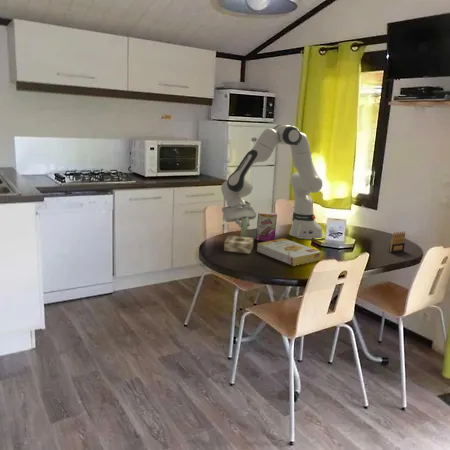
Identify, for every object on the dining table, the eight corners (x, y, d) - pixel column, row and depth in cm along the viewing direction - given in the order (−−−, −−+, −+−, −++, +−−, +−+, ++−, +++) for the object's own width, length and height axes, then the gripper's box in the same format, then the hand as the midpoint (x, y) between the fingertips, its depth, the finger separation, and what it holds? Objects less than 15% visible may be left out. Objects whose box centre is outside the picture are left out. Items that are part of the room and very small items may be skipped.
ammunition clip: (391, 253, 252) (394, 232, 250) (388, 252, 254) (391, 231, 251) (403, 251, 258) (407, 231, 255) (401, 250, 259) (404, 230, 257)
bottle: (247, 236, 256) (248, 216, 254) (246, 238, 253) (247, 217, 250) (241, 236, 257) (242, 215, 254) (240, 237, 254) (241, 217, 251)
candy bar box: (255, 240, 261) (257, 213, 257) (255, 238, 266) (258, 211, 262) (274, 242, 260) (277, 214, 256) (274, 240, 265) (277, 213, 261)
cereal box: (283, 237, 251) (322, 250, 230) (282, 246, 253) (321, 260, 231) (256, 242, 239) (295, 256, 218) (256, 252, 240) (294, 267, 219)
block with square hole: (253, 246, 249) (253, 238, 248) (249, 253, 235) (250, 244, 234) (228, 243, 251) (229, 235, 250) (223, 250, 238) (224, 241, 237)
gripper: (223, 204, 251) (232, 224, 245) (252, 201, 262) (261, 221, 256) (218, 210, 255) (227, 230, 250) (247, 207, 266) (256, 227, 261)
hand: (244, 226), depth 253 cm, fingers closed on bottle, 3 cm apart
